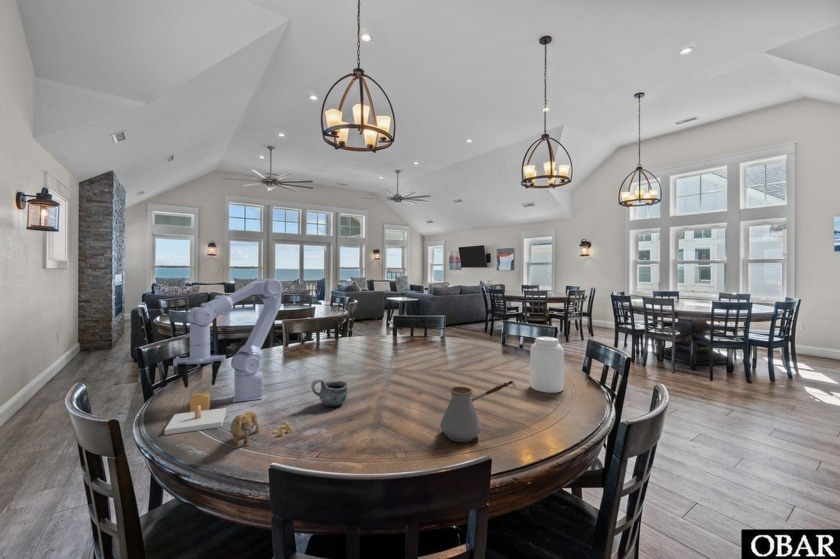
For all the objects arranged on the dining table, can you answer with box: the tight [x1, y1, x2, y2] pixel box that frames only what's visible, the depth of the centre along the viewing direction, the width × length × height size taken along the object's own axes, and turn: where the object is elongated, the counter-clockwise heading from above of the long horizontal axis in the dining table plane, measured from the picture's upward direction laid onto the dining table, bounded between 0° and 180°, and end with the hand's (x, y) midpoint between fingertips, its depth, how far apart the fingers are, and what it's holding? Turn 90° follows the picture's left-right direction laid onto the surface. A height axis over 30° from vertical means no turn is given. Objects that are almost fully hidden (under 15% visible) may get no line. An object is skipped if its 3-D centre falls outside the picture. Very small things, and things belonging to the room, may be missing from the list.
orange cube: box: [189, 391, 211, 412], centre depth 120 cm, size 5×5×5 cm
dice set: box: [272, 422, 293, 437], centre depth 105 cm, size 5×5×2 cm
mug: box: [310, 377, 349, 407], centre depth 125 cm, size 10×12×10 cm
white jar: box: [529, 336, 565, 394], centre depth 145 cm, size 12×12×20 cm
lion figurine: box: [230, 410, 260, 449], centre depth 99 cm, size 15×5×9 cm, turn 14°
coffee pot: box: [439, 380, 517, 443], centre depth 103 cm, size 21×12×15 cm, turn 97°
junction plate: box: [164, 405, 227, 436], centre depth 110 cm, size 14×12×5 cm
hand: (200, 385), depth 120 cm, fingers open, 7 cm apart
